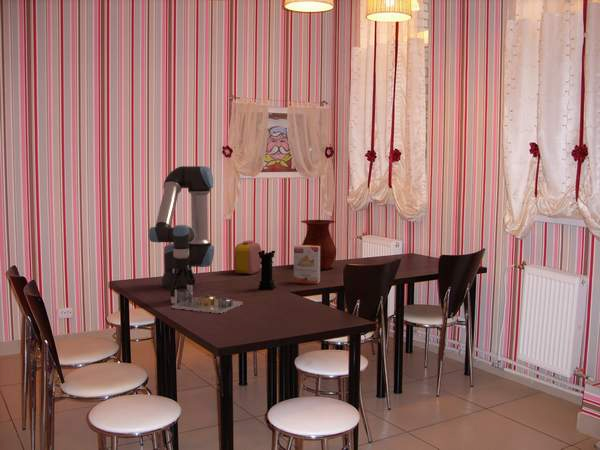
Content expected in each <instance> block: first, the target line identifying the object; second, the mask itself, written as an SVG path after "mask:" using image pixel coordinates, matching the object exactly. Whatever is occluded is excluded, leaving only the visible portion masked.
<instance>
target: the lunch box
mask: <svg viewBox="0 0 600 450" xmlns="http://www.w3.org/2000/svg"><path fill="white" fill-rule="evenodd" d="M261 251H262V247H261V245H260V244H259V243H258V242H254V240H244V241H242V242H240V243H238V244H236V246H235V247H234V256H233V258H234V259H233V260H234V262H233V263H234V270H235V271H234V272H235V273H236V274H239V275H240V274H247V275H254V274H256V273H258V272H259V271H260V270H261V264H260V262H261V258H259V254H258V252H261Z"/></svg>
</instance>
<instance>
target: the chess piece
mask: <svg viewBox="0 0 600 450" xmlns="http://www.w3.org/2000/svg"><path fill="white" fill-rule="evenodd" d="M275 253H276V250H271V251H269V252H266V250H264V249H263V250H262V249H261V252H258V254H259V258H261V262H260V264H261V267H260V270H261V271H260V273H261V275H260V276H261V277H260V278H261V279H260V281H259V283H258V287H257V291H274V290H275V289H276V288H277V286H276V283H275V280H274V279H273V264H274V261H273V258H275Z"/></svg>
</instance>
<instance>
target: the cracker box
mask: <svg viewBox="0 0 600 450" xmlns="http://www.w3.org/2000/svg"><path fill="white" fill-rule="evenodd" d="M320 282H321V270H320V246H308V245H302V244H295V245H294V246H293V283H294V284H308V285H309V284H310V285H319V283H320Z"/></svg>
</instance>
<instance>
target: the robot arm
mask: <svg viewBox="0 0 600 450" xmlns="http://www.w3.org/2000/svg"><path fill="white" fill-rule="evenodd" d="M213 187H214V175H213V173H212V170H211V168H210V167H209V166H202V165H201V166H200V165H198V166H197V165H195V166H193V165H192V166H191V165H190V166H189V165H188V166H187V165H186V166H184V165H183V166H181V165H180V166H178V167H176V168H174V169H172V171H170V173H168V175H167V176H166V177H165V179H164V181H163V185H162V188H163V194H162V198H161V202H160V206H159V211H158V214H157V219H156V222H155V226H152V227H150V228H149V230H148V239H149V241H150V242H151V243H168V244H166V245H165V246H164V247H163V264H164V265H163V269H164V272H163V276H162V277H161V283H160V284H161V287H162V288H167V289H168V290H169V291H170V303H171V304H177V303H178V302H177V290H178V289H183V288H186V290H189V293H192V298H194V297H193V295H194V294H193V289H194V288H193V287H194V285H195V283H196V278H195V276H194V275H195V274H194V273H193V269H192V268H207V267H208V268H209V267H211V265H212V263H213V260H214V255H215V247H214V245H212V242H211V240H210V239H209V236H208V235H209V228H208V221H209V220H208V219H209V218H208V217H209V215H208V213H209V212H208V195H209V194H210V192H211V189H213ZM182 189H187V192H188V193H189V194H190V201H191V203H190V204H191V205H190V207H191V209H190V210H191V219H190V220H191V226H189V225H186V224H176V225H174V226H173V227H172V223H173V218H174V215H175V210H176V207H177V206H176V205H177V201H178V196H179V194H180V193H181V192H182Z"/></svg>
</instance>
